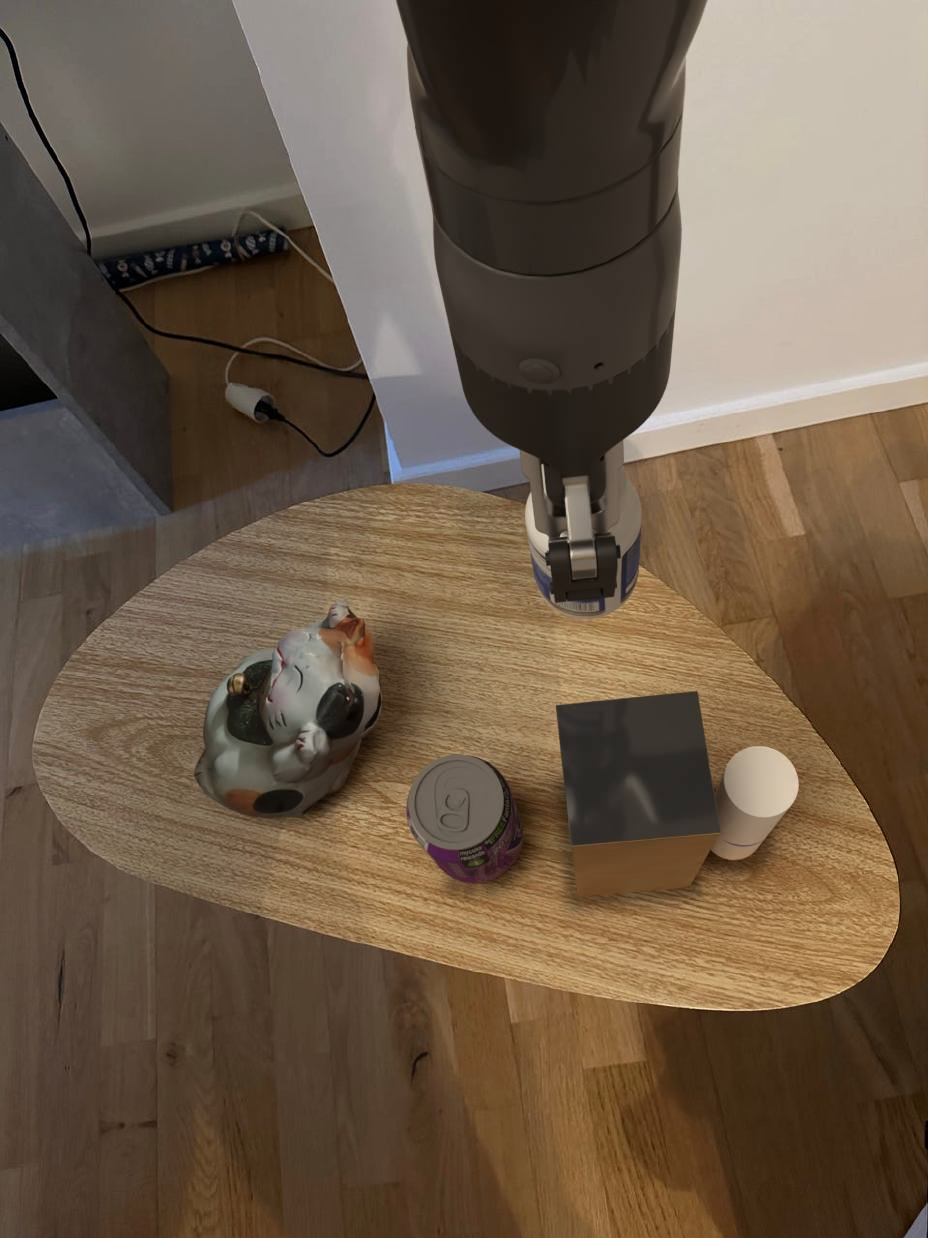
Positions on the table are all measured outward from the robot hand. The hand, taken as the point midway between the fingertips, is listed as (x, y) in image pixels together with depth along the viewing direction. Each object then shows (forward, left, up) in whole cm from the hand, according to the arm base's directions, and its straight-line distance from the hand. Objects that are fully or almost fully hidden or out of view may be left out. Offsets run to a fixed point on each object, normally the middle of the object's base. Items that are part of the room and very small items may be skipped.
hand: (574, 527), depth 49 cm
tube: (-10, +9, -33) cm, 36 cm away
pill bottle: (0, 0, -6) cm, 6 cm away
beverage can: (+9, +8, -33) cm, 35 cm away
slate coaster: (-2, +9, -13) cm, 16 cm away
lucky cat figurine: (+22, -2, -33) cm, 40 cm away
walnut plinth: (-2, +9, -33) cm, 34 cm away
